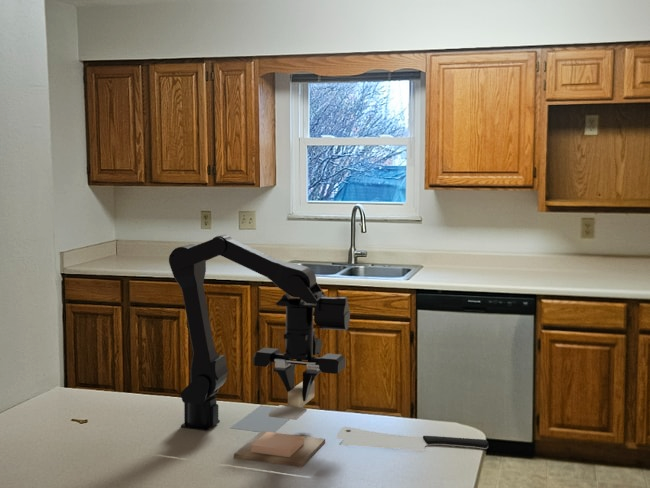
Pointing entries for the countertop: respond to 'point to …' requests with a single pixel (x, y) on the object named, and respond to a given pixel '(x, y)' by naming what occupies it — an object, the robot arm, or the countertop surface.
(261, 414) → the mat
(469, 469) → the countertop surface
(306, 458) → the board
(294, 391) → the turner
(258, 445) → the tile
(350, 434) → the kitchen cleaver
